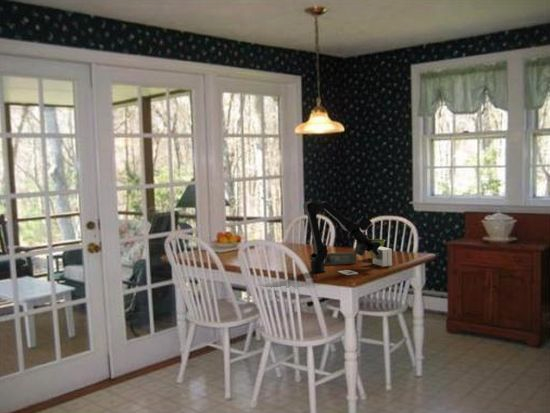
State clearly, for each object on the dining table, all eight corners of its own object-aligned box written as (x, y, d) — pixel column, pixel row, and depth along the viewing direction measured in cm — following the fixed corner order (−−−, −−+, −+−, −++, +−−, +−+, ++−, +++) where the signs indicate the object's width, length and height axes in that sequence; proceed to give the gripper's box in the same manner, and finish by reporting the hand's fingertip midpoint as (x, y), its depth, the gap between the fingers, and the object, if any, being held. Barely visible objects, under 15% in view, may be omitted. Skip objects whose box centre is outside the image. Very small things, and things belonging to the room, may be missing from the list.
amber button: (370, 258, 327) (370, 251, 327) (367, 257, 331) (367, 250, 330) (377, 257, 329) (377, 250, 329) (374, 256, 332) (373, 250, 332)
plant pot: (385, 260, 343) (385, 241, 342) (365, 260, 345) (365, 241, 344) (385, 256, 354) (385, 238, 353) (366, 256, 357) (366, 238, 356)
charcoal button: (379, 259, 323) (379, 252, 323) (376, 258, 326) (376, 251, 326) (386, 258, 325) (386, 251, 325) (382, 257, 328) (382, 251, 328)
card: (346, 275, 303) (346, 273, 303) (338, 271, 312) (337, 270, 312) (358, 273, 306) (358, 272, 306) (349, 270, 315) (349, 269, 315)
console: (383, 266, 323) (382, 250, 322) (372, 263, 333) (372, 247, 333) (392, 265, 325) (391, 249, 325) (381, 262, 336) (381, 246, 335)
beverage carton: (322, 263, 342) (322, 252, 341) (354, 261, 343) (354, 250, 342) (324, 265, 334) (324, 254, 333) (356, 264, 335) (356, 253, 335)
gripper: (343, 245, 327) (360, 262, 332) (359, 250, 309) (377, 268, 314) (354, 231, 329) (371, 248, 334) (372, 234, 312) (389, 252, 317)
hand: (377, 254), depth 325 cm, fingers closed
